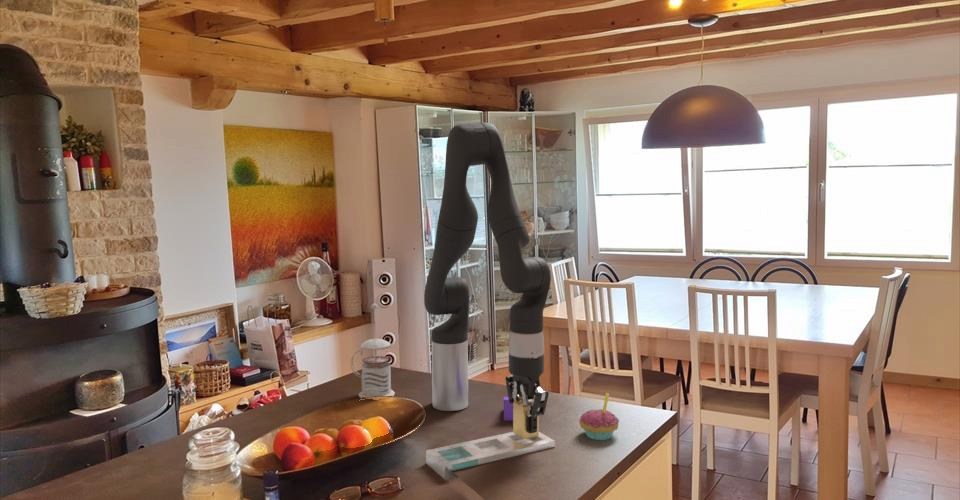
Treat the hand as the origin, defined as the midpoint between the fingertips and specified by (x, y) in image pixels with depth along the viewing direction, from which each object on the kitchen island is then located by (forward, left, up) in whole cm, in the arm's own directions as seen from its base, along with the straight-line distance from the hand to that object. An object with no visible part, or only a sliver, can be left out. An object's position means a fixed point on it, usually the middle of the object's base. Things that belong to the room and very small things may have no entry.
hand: (526, 428), depth 149 cm
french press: (-53, -16, -5) cm, 55 cm away
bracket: (-18, +9, -5) cm, 20 cm away
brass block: (0, 0, -1) cm, 1 cm away
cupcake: (+4, +16, -5) cm, 17 cm away
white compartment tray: (0, -9, -5) cm, 10 cm away
